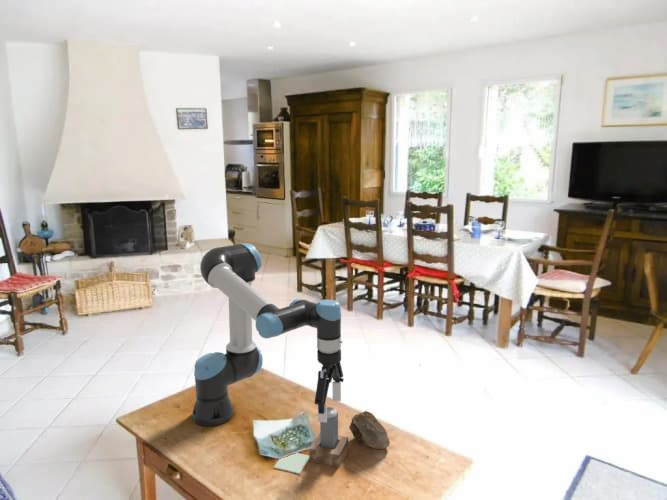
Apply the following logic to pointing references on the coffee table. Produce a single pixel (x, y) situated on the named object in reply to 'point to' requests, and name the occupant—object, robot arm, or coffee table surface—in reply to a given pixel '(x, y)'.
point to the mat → (293, 463)
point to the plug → (329, 429)
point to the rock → (369, 431)
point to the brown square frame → (329, 452)
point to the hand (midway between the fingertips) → (329, 410)
